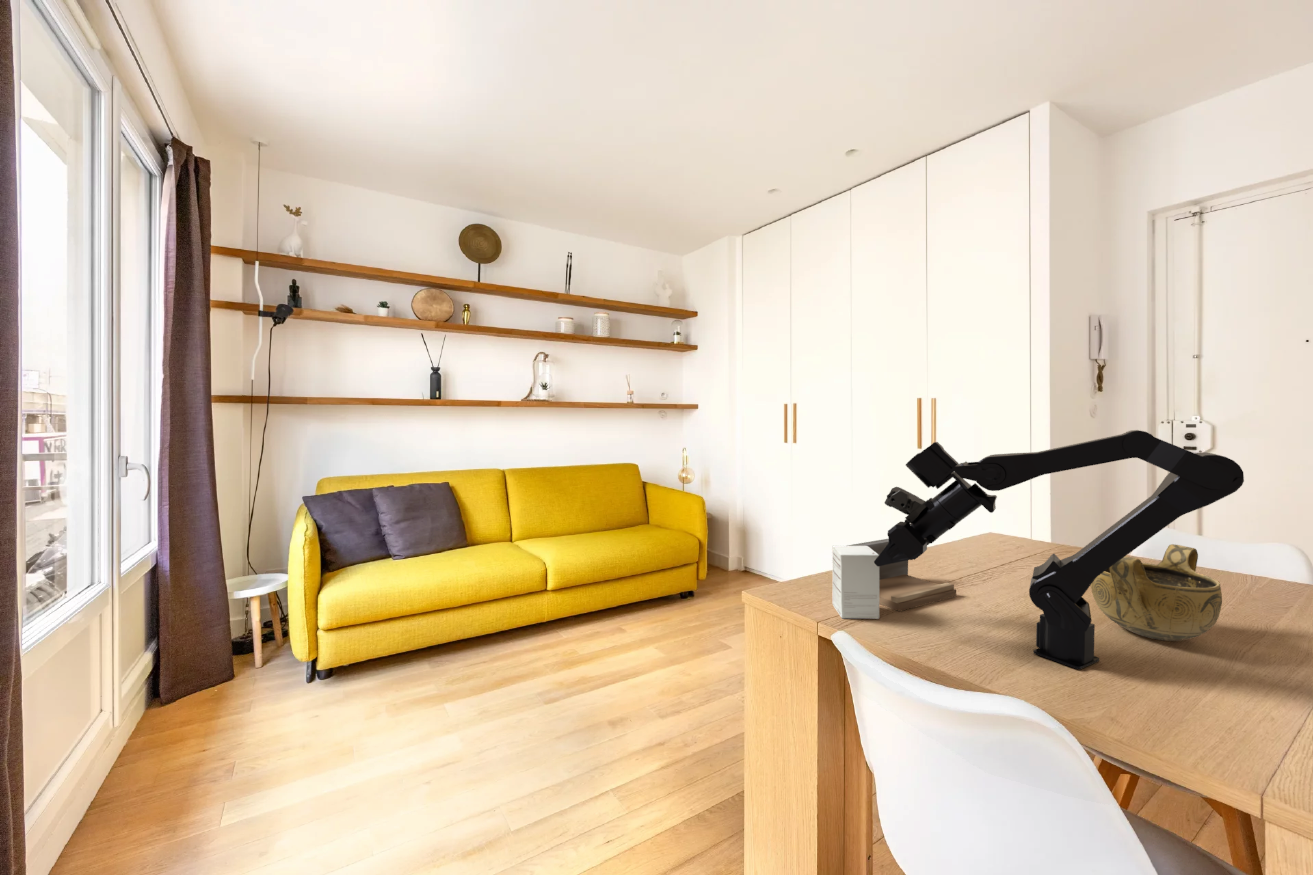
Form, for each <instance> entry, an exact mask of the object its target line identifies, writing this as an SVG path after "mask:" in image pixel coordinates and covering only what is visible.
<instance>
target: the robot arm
mask: <svg viewBox="0 0 1313 875" xmlns="http://www.w3.org/2000/svg"><path fill="white" fill-rule="evenodd" d="M1128 459H1138V460H1139V459H1140V460H1142V461H1144V462H1146V463H1148V464H1150V465H1153V466H1155V467H1157V468H1160V469H1162V470H1165V471H1166V472H1168V473H1167V475H1166V476H1165V477H1164V479H1163V480H1162V481H1161V483H1160V484H1159V485H1158V487H1157V488H1156V489H1155V491H1154V492H1153V494H1151V495H1150V496H1149V497H1148V498H1147V499H1145V500H1144V501H1142V502H1141V503H1140V504H1139V505H1137V506H1136V507H1135V508H1133V509H1132V510H1131V511H1129V512H1128V513H1127V514H1126V515H1124V516H1123V517H1121V518H1120V519H1118V521H1116V522H1115V523H1114V524H1112V525H1111V526H1110V527H1109V528H1107V529H1106V530H1105V531H1103V532H1102V533H1101V534H1100V535H1098V536H1096V537H1095V538H1094V539H1092V541H1090V542H1089V543H1087V544H1086V545H1084V547H1082V548H1081V549H1079V551H1077V552H1075V553H1074V554H1072V555H1070V556H1067V557H1065V558H1062V559H1060V558H1059V557H1058V556H1057V555H1056V553H1052V554H1051V555H1050V556H1049V557H1048V558H1047V559H1046V561H1045V562H1044V563H1042V564H1040V565H1037V566H1035V567H1033V572H1032V576H1031V579H1030V584H1029V589H1028V592H1029V593H1028V595H1029V598H1030V601H1031V602H1032V604H1033V605H1034V606H1035V607H1037V608H1038V609H1039V610H1041V611H1042V612H1043V613H1042V614H1039V621H1038V622H1036V626H1035V627H1036V628H1035V629H1036V633H1035V639H1036V641H1035V646H1036V647H1037V648H1035V649H1033V654H1034V655H1037V656H1039V657H1041V658H1042V657H1043V658H1045V659H1048V660H1051V661H1053V662H1056V663H1058V664H1062V665H1065V666H1067V667H1070V668H1073V669H1075V670H1082V669H1084V668H1087V667H1089V666H1092V665H1093V664H1096V663H1098V662H1100V657H1099V656H1095V631H1096V630H1095V623H1092V614H1091V613H1092V612H1091V607H1090V603H1089V602H1088V601H1087V600H1086V599H1085V598H1084V597H1083V596H1084V595H1085V593H1086V592H1087V591H1088V589H1089V588H1090V587H1091V584H1092V582H1093V581H1094V580H1095V578H1096V577H1097V576H1099V575H1100V574H1101V573H1103V572H1104V571H1105V570H1107V569H1108V568H1110V567H1111V566H1112V565H1114V564H1115V563H1117V562H1118V561H1119V560H1121V559H1122V558H1123V557H1125V556H1126V557H1127V556H1128V555H1129V554H1130V553H1131V552H1133V551H1135V550H1136V549H1137V548H1138V547H1140V546H1141V545H1143V544H1144V543H1146V542H1147V541H1148V540H1150V539H1151V538H1153V537H1154V536H1155V535H1156V534H1158V533H1159V532H1160V531H1162V530H1163V529H1165V528H1166V527H1168V526H1169V525H1170V524H1172V523H1173V522H1175V521H1176V520H1177V519H1178V518H1180V517H1182V516H1184V515H1185V514H1189V513H1192V512H1194V511H1196V510H1199V509H1202V508H1204V507H1207V506H1210V505H1212V504H1214V503H1216V502H1218V501H1220V500H1222V499H1224V498H1226V497H1228V496H1230V495H1232V494H1234V493H1235V492H1237V491H1238V490H1239V489H1240V488H1241V487H1242V486H1243V485H1244V482H1245V476H1244V471H1243V469H1242V467H1241V466H1240V465H1239V464H1238V463H1237V462H1236V461H1235V460H1233V459H1231V458H1229V457H1227V456H1223V455H1221V454H1216V453H1211V452H1207V451H1206V452H1193V451H1190V450H1188V449H1185V448H1183V447H1180V446H1178V445H1176V444H1174V443H1173V444H1172V443H1170V442H1168V441H1165V440H1163V439H1161V438H1158V437H1155V436H1154V435H1153V434H1152V433H1150V432H1147V431H1144V430H1141V429H1140V430H1139V429H1134V430H1128V431H1126V432H1123V433H1121V434H1115V435H1112V436H1108V437H1102V438H1098V439H1093V440H1088V441H1083V442H1079V443H1073V444H1069V445H1064V446H1060V447H1059V446H1058V447H1055V448H1050V449H1045V450H1040V451H1033V452H1015V453H1013V452H1012V453H997V454H996V453H995V454H990V455H987V456H985V457H983V458H981V459H980V460H979V461H971V462H969V461H967V460H965V462H960V463H959V462H958V461H957V460H956V459H955V458H954V457H953V456H952V455H950V454H949V452H947V451H946V450H945V449H944V446H942V445H941V444H940V443H939V442H938V441H934V442H932V444H930V445H929V446H928V447H926V448H924V450H922V451H921V452H918V453H917V454H915V455H914V456H913V457H912V458H910V460H909V461H908V462H906V463H905V466H906V467H907V468H908V469H909V471H911V473H913V475H915V476H916V478H917V479H918V480H920V482H921V483H923V484H924V485H925V486H926V487H927V488H928V489H929V488H934V487H935V488H936V489H937V490H938V489H940V488H941V487H943V486H944V485H945V484H946V483H948V482H949V481H950V480H951V479H954V481H953V482H952V483H950V484H948V486H947V487H945V488H944V489H943V490H942V491H939V493H938V494H936V495H935V496H934V497H930V498H929V499H926V500H924V499H922V498H921V497H919V496H918V495H915V494H913V493H911V492H909V491H907V490H906V489H903V488H902V487H900V486H894V487H893V488H891V490H890V491H889V493H888V494H887V495H886V498H885V501H884V504H885V506H887V507H889V508H893V509H895V510H897V511H899V512H901V513H902V514H904V515H906V516H905V517H904V521H899V522H897V523H896V524H895V525H894V526H892V527H891V528H889V530H887V537H888V538H887V539H889V543H888V544H887V546H886V547H885V548H884V549H883V551H882V552H881V553H880V555H879V556H878V557H877V558H876V560H875V561H874V563H875V564H876V566H878V567H879V566H883V565H888V564H892V563H897V562H902V561H907V560H908V561H913V560H914V561H915V560H916V559H917V558H920V556H922V555H923V554H924V553H925V552H926V551H927V550H928V546H929V545H930V544H933V543H934V542H935V541H936V540H937V539H939V538H940V537H941V536H942V535H943V534H945V533H947V532H948V531H950V530H951V529H953V528H955V526H956V525H957V524H959V523H960V522H961V521H962V520H964V519H966V517H968V516H969V515H970V514H972V513H973V512H975V511H976V510H978V508H980V507H981V506H982V507H983V508H984V509H985V510H986V511H988V512H989V513H990V514H992V513H994V512H995V510H996V508H997V507H996V500H997V499H998V496H997V495H995V494H988V493H987V492H986V491H985V490H987V491H991V492H994V491H995V492H998V491H1002V490H1003V491H1004V490H1006V489H1009V488H1011V487H1014V486H1017V485H1019V484H1020V485H1021V484H1023V483H1025V482H1028V481H1030V480H1033V479H1036V478H1038V477H1041V476H1045V475H1048V474H1054V473H1059V472H1064V471H1065V472H1066V471H1070V470H1075V469H1081V468H1085V467H1086V468H1087V467H1091V466H1097V465H1103V464H1106V463H1112V462H1116V461H1117V462H1118V461H1123V460H1128ZM965 479H966V480H969V481H972V482H974V483H973V484H972V485H971V483H969V482H968V481H966V480H965ZM983 489H985V490H983Z"/></svg>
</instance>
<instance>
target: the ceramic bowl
mask: <svg viewBox="0 0 1313 875" xmlns="http://www.w3.org/2000/svg"><path fill="white" fill-rule="evenodd" d="M1198 560H1199V553H1198V550H1197V549H1196V548H1195V547H1190V546H1185V545H1181V544H1173V543H1172V544H1169V545H1168V546H1167V548H1166V550H1165V552H1164V554H1163V557H1162V560H1161V561H1160V562H1159V563H1157V564H1155V563H1149V562H1147V563H1146V562H1142V560H1141V559H1139V558H1138V557H1137V558H1136V557H1132V556H1127V555H1126V556H1125V557H1123V558H1122V559H1121V560H1119V561H1118V562H1117V563H1115V564H1114V565H1112V566H1111V567H1110V568H1108V569H1107V570H1105V571H1104V572H1103V573H1101V574H1100V575H1099V576H1097V577H1096V578H1095V580H1094V581H1093V582H1092V584H1091V585H1090V589H1091V593H1092V598H1093V601H1094V602H1095V604H1096V606H1097V607H1098V609H1099V610H1100V611H1101V612H1102V613H1103V614H1104V615H1105V616H1106V617H1107V618H1108V619H1109V620H1110V621H1112V622H1113V623H1115V624H1117V625H1118V626H1120V627H1122V628H1124V629H1125V630H1127V631H1129V632H1132V633H1133V634H1134V635H1135V634H1136V635H1139V636H1141V637H1145V638H1149V639H1152V640H1157V641H1164V642H1165V641H1166V642H1168V641H1169V642H1178V641H1187V640H1190V639H1194V638H1197V637H1200V636H1202V635H1204V634H1205V633H1207V632H1209V630H1211V629H1212V628H1213V627H1214V625H1215V624H1216V623H1217V621H1218V619H1219V618H1220V614H1221V610H1222V605H1223V596H1222V595H1223V594H1222V588H1221V587H1222V586H1221V583H1220V582H1219V581H1218V579H1216V578H1213V577H1211V576H1209V575H1206V574H1202V573H1198V572H1196V570H1197V566H1198Z"/></svg>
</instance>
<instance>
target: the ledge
mask: <svg viewBox="0 0 1313 875" xmlns="http://www.w3.org/2000/svg"><path fill="white" fill-rule="evenodd" d="M888 543H889V538H883V539H878V540H873V541H865V542H860V543H859V542H858V543H853V544H847V545H846V546H868V547H870V548H871V549H872V550H873V551H875V552H876V553H877V554H878V555H880V553H881V552H882V551H883V549H884V548H885V547H886V546H887V544H888ZM955 596H956V597H957V589H956V588H955V584H954V583H951V582H948V581H947V582H944V583H936V582H931V581H928V580H925V579H921V578H918V577H915V576H911V575H909V560H907V561H902V562H897V563H892V564H888V565H883V566H879V605H880V606H884V607H886V606H887V607H886V608H889V609H892V610H895V611H897V610H898V611H897V612H902V611H901V610H903V611H907V610H910V609H909V608H911V609H914V608H913V607H915V608H917V607H916V606H918V607H922V606H926V605H929V604H933V603H936V602H941V601H944V600H948V598H949V599H952V598H955ZM925 604H926V605H925ZM921 605H922V606H921ZM906 609H907V610H906Z"/></svg>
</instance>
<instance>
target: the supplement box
mask: <svg viewBox="0 0 1313 875" xmlns="http://www.w3.org/2000/svg"><path fill="white" fill-rule="evenodd" d="M831 550H832V552H831V553H832V555H831V556H832V560H831V561H832V562H831V563H832V589H831V590H832V606H833V608H834V609H835V611H836V612H837V613H838V615H839V616H840V618H841V619H869V620H870V619H871V620H872V619H874V620H875V619H876V620H879V619H880V604H879V567H878V566H876V564H875V563H874V561H875V560H876V558H877V557H878V556H879V555H878V554H877V553H876V552H875V551H873V550H872V549H871V548H870V547H868V546H847V545H832V549H831Z"/></svg>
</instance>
